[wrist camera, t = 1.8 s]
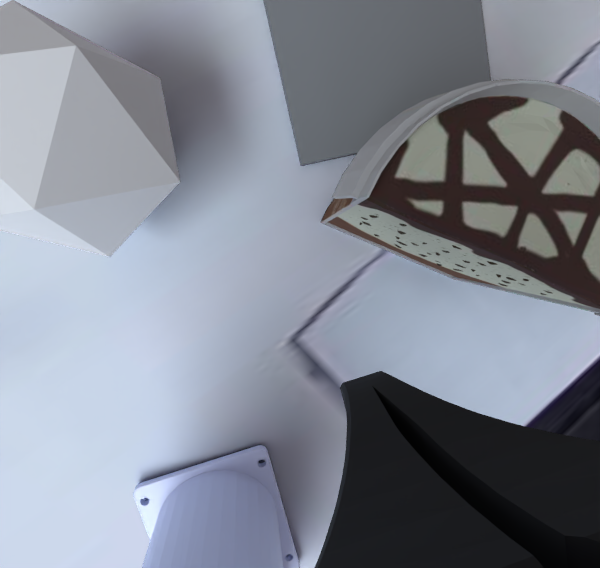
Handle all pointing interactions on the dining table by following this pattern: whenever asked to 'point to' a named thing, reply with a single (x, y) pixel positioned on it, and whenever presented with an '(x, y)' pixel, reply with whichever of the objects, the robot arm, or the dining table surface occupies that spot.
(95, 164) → the die
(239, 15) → the dining table surface
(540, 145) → the food container
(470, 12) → the mat
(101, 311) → the dining table surface
